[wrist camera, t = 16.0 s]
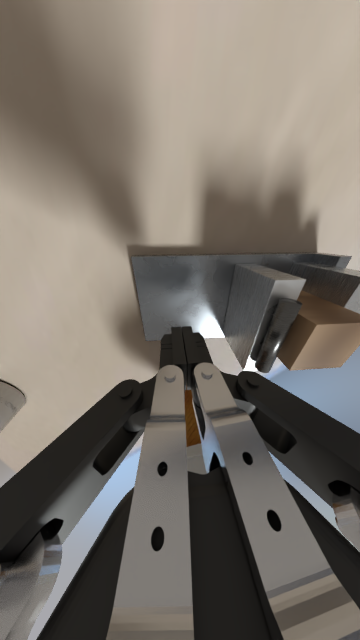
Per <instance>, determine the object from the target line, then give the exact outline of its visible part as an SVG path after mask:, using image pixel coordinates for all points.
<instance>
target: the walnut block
mask: <svg viewBox="0 0 360 640" xmlns="http://www.w3.org/2000/svg"><path fill="white" fill-rule="evenodd" d="M297 301H300V302H301V303H302V306H301V308H300V310H299V312H298V314H297V316H296V319H295V321H294V323H293V325H292V327H291V329H290V331H289V333H288V335H287V337H286V339H285V341H284V343H283V345H282V347H281V349H280V351H279V353H278V355H277V357H278V358H279V359H280V360H281V362H282V363H283V364H284V365H285V366H286V367H287V368H288V369H289V370H305V369H321V368H336V367H341V366H342V365H343V363H344V362H346V360H347V359H348V358H349V357H350V356H351V355H352V353H353V352H354V351H355V350H356V349H357V348H358V347H359V345H360V314H359V313H356V312H354V311H352V310H349V309H347V308H344V307H342V306H339V305H337V304H334V303H332V302H329V301H327V300H324V299H322V298H319V297H317V296H314V295H312V294H310V293H307V292H305V291H302V290H301V292H300V294H299V297H298V299H297Z"/></svg>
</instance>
